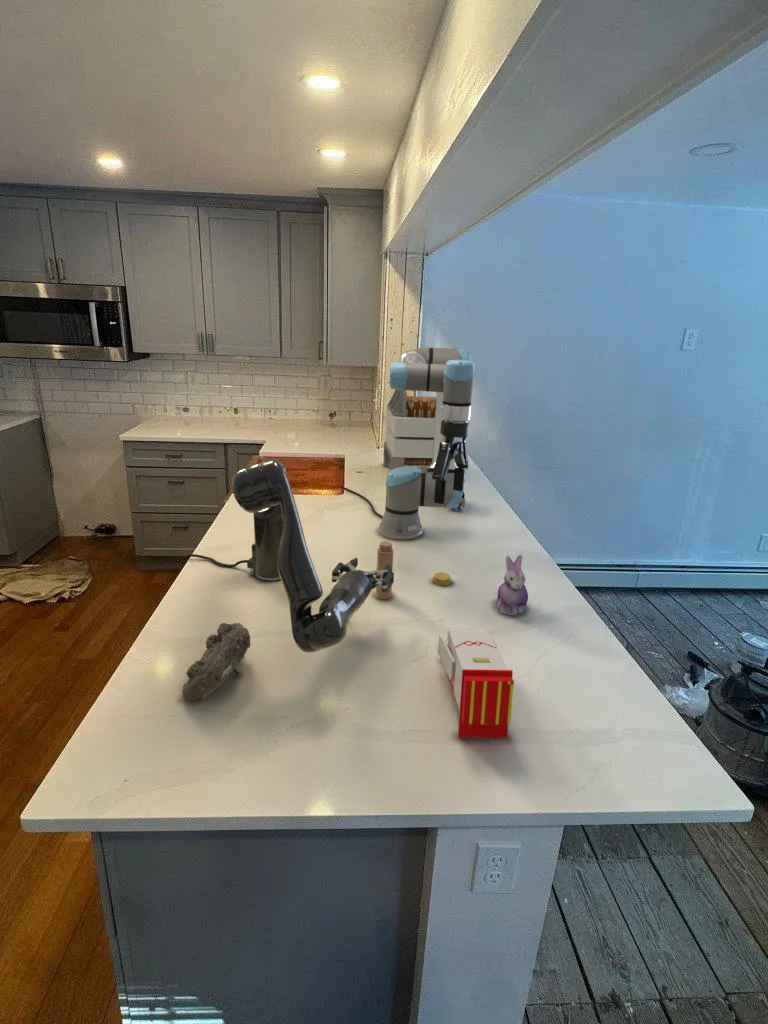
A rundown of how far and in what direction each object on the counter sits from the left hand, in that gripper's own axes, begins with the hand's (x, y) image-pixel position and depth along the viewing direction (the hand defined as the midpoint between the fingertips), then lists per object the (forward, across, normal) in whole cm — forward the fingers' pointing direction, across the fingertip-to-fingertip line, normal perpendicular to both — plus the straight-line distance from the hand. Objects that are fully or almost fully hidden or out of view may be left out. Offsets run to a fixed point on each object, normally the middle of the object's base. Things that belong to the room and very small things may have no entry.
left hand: (372, 564), depth 142 cm
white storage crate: (+136, +21, +16) cm, 138 cm away
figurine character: (+93, -4, +16) cm, 95 cm away
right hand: (+26, -13, -12) cm, 31 cm away
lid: (+25, -14, +13) cm, 31 cm away
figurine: (+17, -35, +14) cm, 41 cm away
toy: (-23, -30, +14) cm, 40 cm away
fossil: (-35, +21, +14) cm, 44 cm away
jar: (+11, 0, +14) cm, 18 cm away
